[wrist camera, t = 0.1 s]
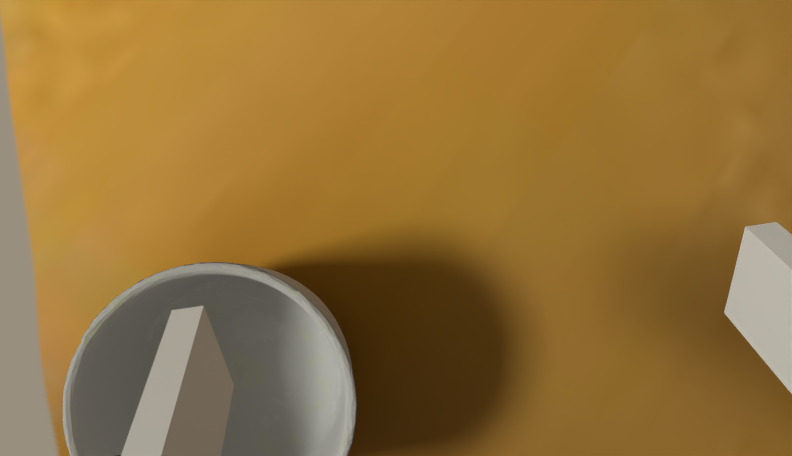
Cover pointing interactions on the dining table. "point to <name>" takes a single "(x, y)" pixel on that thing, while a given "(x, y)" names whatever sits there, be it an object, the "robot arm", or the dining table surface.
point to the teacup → (244, 356)
